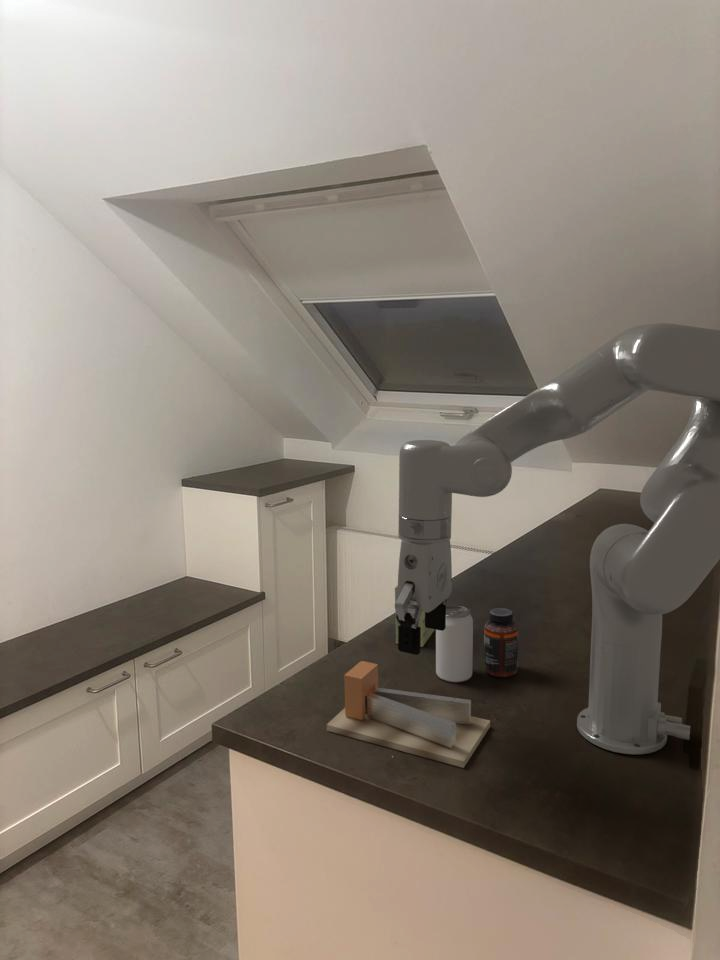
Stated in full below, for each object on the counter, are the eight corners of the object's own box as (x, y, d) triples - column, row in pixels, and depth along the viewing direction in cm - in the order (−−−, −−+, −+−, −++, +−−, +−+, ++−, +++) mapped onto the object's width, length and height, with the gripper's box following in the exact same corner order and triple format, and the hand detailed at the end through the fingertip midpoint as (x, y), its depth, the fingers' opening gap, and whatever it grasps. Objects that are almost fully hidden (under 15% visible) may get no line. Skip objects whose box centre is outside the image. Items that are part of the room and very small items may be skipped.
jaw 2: (367, 716, 106) (366, 695, 106) (372, 713, 107) (371, 692, 107) (451, 748, 97) (451, 726, 96) (455, 744, 98) (455, 722, 97)
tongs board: (326, 730, 105) (326, 709, 104) (363, 696, 115) (362, 676, 115) (463, 768, 95) (463, 744, 94) (490, 726, 105) (490, 705, 104)
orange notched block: (345, 715, 107) (344, 675, 105) (362, 699, 112) (361, 660, 110) (362, 720, 105) (361, 679, 104) (378, 703, 110) (377, 664, 109)
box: (410, 625, 145) (409, 571, 143) (436, 628, 143) (436, 574, 141) (394, 644, 136) (394, 587, 134) (422, 648, 134) (422, 590, 132)
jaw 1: (374, 710, 108) (373, 690, 107) (376, 707, 109) (376, 687, 108) (469, 724, 103) (469, 703, 103) (470, 720, 104) (470, 700, 104)
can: (428, 675, 122) (428, 611, 120) (451, 663, 127) (451, 601, 125) (457, 687, 118) (457, 621, 116) (479, 674, 122) (480, 610, 120)
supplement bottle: (522, 668, 124) (524, 609, 122) (510, 681, 119) (511, 620, 117) (491, 661, 127) (492, 603, 125) (478, 673, 123) (479, 613, 121)
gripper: (425, 544, 89) (423, 668, 92) (469, 517, 104) (466, 624, 107) (374, 537, 92) (373, 657, 95) (424, 512, 107) (422, 616, 110)
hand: (422, 639), depth 101 cm, fingers open, 9 cm apart
